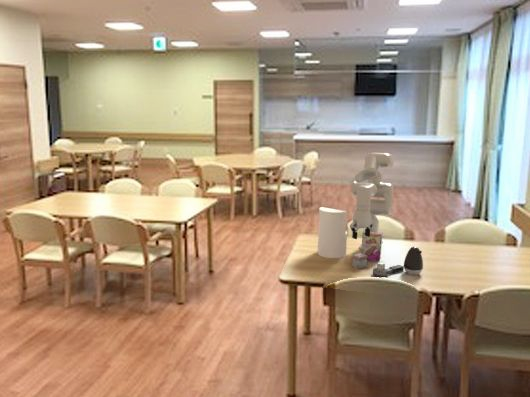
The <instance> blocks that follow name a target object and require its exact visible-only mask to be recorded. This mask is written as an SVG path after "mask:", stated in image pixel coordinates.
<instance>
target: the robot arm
mask: <svg viewBox="0 0 530 397" xmlns="http://www.w3.org/2000/svg"><path fill="white" fill-rule="evenodd" d="M394 161H395V160H394V156H393V154H390V153H387V152H370V153H367V154H366V155H365V156H364V166H363V169H362V170H360V171H358V173H355V175H354V177H353V178H352V182H351V184H350V193H351V195H353V196H356V200H355V201H356V204H355V209H354V212H353V215H352V222H351V223H350V224H349V227H350V230H351V232H352V237H351V238H352V239H354V240H358V230H359V229H362V233H363V232H364V231H365V236H368V237H370V232H377V233H379V226H380V222H379V219H378V217H377V216H382V217H388V216H390V215H391V214H392V209H393V201H394V200H393V198H394V187H393V184H392V183H388V182H383V173H382V172H381V169H392V167H393V165H394ZM365 181H367V182H365ZM372 198H377V199H372ZM379 198H380V199H379ZM381 198H382V199H381ZM383 242H384V241H382V244H383ZM358 246H359V249H361V250H362V243H361V244H359V245H358Z"/></svg>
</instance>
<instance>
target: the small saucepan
mask: <svg viewBox="0 0 530 397" xmlns="http://www.w3.org/2000/svg"><path fill="white" fill-rule="evenodd" d="M404 271H405V269H404V265H401V264H396V265H392V266H389V268H386V263H385V262H383V261H378V262H376V267H374V268H372V276H373V277H374V278H377V277H387V278H388V276H389V275H392V274H397V273H400V272H401V273H402V272H404Z"/></svg>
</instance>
